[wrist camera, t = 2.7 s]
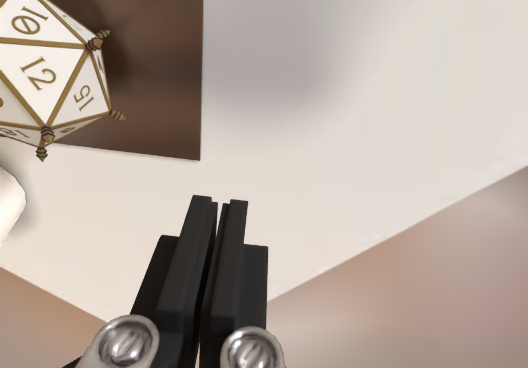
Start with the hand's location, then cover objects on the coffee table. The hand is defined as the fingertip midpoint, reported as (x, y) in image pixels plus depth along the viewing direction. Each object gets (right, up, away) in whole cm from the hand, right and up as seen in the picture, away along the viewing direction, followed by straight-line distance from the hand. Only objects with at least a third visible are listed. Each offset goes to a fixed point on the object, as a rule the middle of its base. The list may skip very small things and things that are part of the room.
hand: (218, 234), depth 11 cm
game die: (-10, +10, +10) cm, 18 cm away
